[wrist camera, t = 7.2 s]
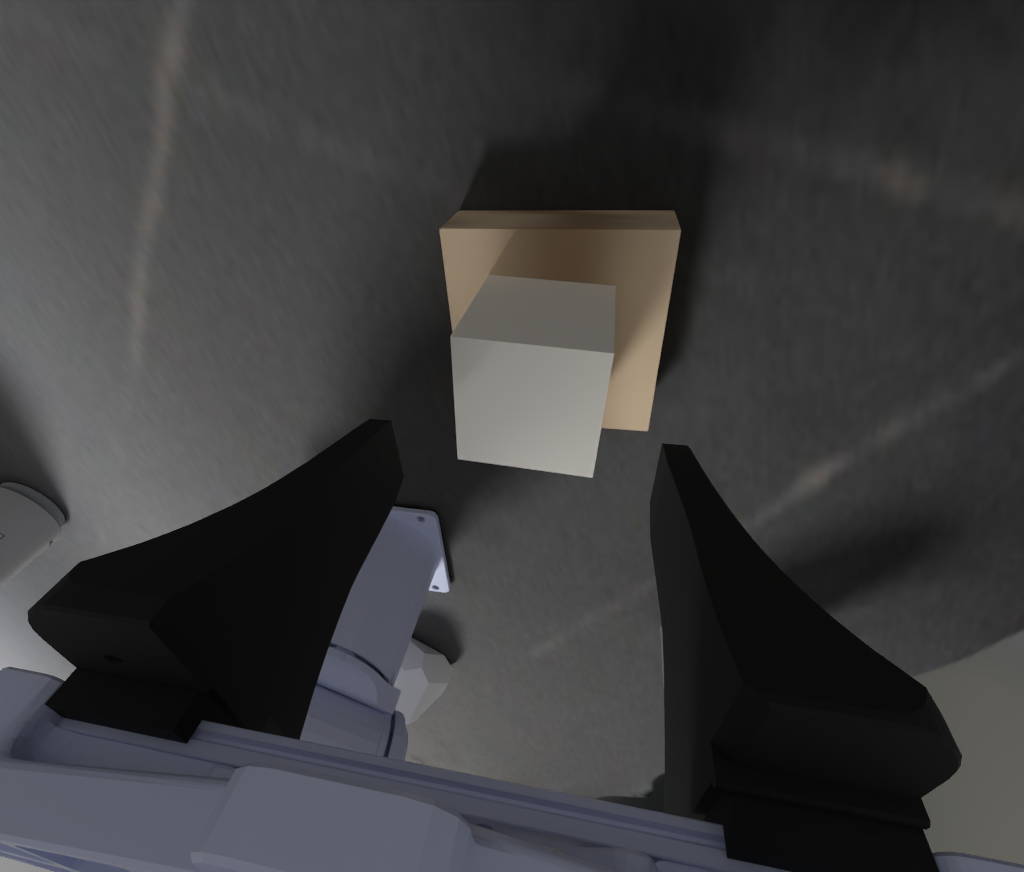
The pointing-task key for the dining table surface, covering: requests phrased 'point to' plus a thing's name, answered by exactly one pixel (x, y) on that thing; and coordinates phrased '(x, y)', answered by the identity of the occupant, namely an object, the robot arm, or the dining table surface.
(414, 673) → the crystal
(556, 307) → the cream block
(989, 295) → the dining table surface
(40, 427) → the dining table surface
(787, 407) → the dining table surface
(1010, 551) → the dining table surface
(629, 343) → the oak slab
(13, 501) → the energy drink can
